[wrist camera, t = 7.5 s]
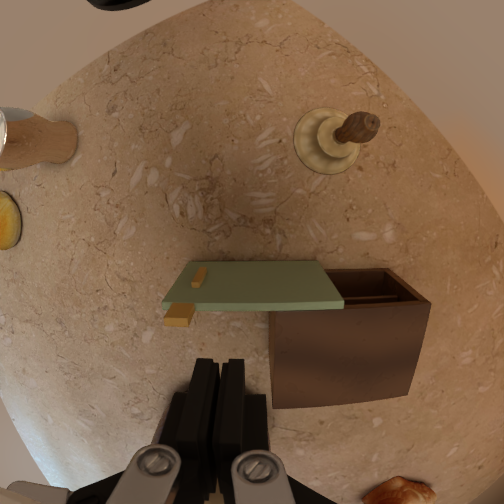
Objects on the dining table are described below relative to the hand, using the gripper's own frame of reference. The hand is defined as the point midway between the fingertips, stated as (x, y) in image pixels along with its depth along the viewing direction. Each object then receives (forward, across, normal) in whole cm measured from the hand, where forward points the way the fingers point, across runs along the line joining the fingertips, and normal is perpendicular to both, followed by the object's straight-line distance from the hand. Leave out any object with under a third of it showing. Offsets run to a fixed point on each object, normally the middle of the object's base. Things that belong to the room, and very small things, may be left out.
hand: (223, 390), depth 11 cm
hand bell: (+29, -10, -11) cm, 33 cm away
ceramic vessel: (+28, -36, +65) cm, 79 cm away
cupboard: (+29, -11, +11) cm, 33 cm away
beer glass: (+29, +25, -13) cm, 40 cm away
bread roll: (+29, +38, -3) cm, 48 cm away
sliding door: (+28, -1, +4) cm, 29 cm away
